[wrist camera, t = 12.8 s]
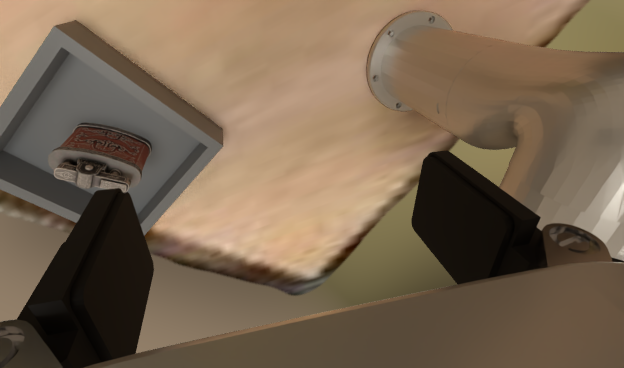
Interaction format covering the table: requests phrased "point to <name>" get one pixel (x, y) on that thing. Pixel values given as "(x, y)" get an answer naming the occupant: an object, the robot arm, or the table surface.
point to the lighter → (101, 157)
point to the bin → (101, 110)
